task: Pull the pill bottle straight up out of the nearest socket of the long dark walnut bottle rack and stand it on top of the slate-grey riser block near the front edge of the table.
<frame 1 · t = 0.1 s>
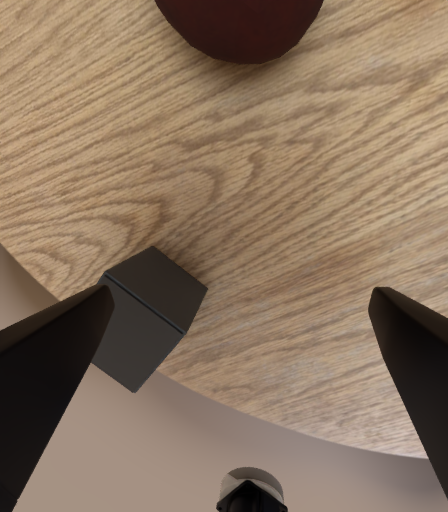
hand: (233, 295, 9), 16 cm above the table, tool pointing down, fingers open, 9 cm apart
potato: (239, 3, 20), on the table
riser: (119, 337, 18), on the table
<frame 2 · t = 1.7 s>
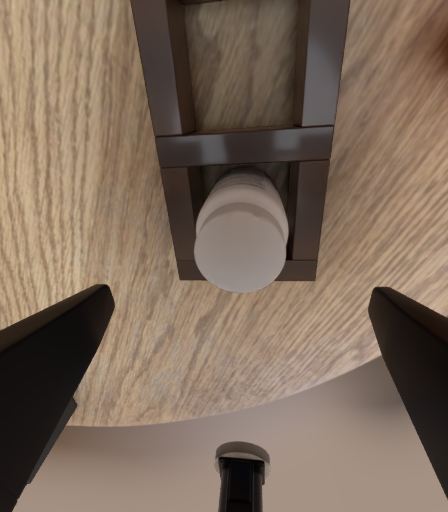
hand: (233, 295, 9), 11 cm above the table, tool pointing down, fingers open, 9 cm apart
pill bottle: (245, 198, 19), on the table
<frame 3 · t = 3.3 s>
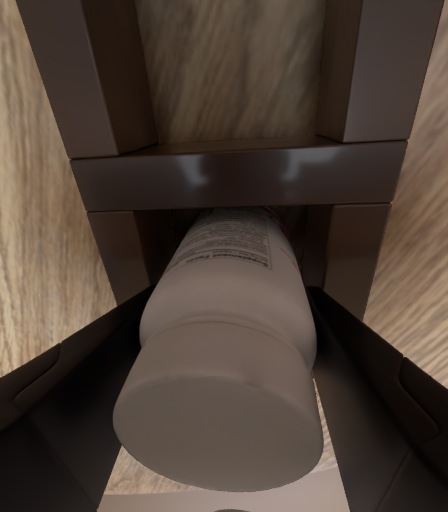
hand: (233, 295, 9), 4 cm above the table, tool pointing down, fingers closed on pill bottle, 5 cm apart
pill bottle: (238, 243, 12), on the table, touching gripper
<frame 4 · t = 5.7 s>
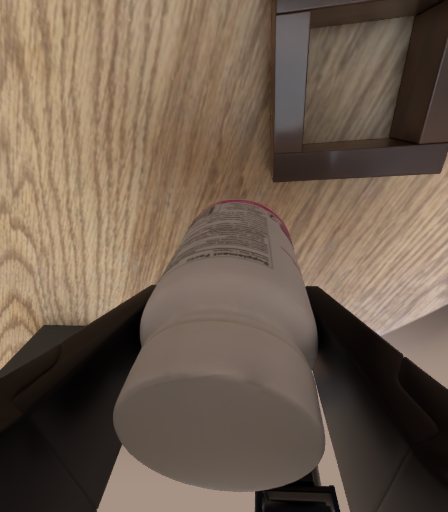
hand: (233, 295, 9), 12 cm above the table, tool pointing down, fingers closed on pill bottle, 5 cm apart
pill bottle: (239, 243, 12), point 8 cm above the table, touching gripper
riser: (28, 422, 23), on the table
when the fingers open (12 cm above the table, at t = 8.1 s): pill bottle stays where it is, resting on riser.
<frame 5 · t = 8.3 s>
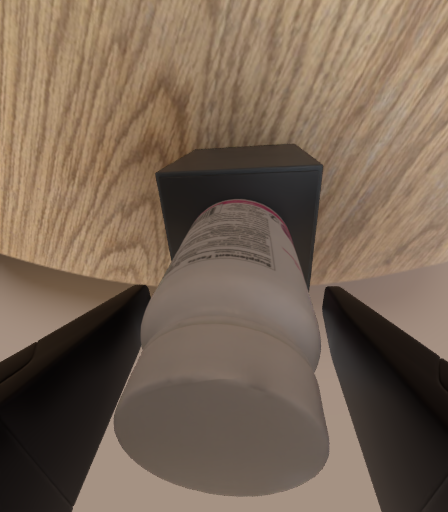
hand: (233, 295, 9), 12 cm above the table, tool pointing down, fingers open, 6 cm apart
pill bottle: (239, 244, 12), point 8 cm above the table, touching riser
riser: (238, 246, 12), on the table
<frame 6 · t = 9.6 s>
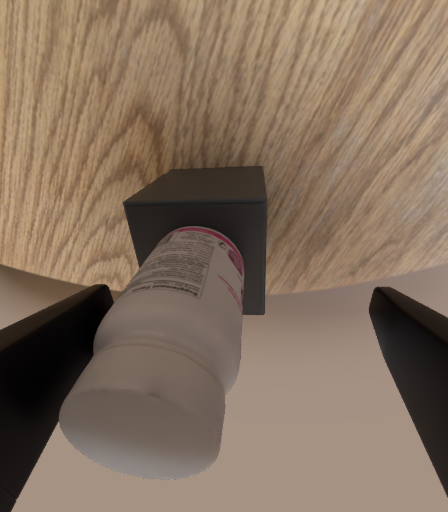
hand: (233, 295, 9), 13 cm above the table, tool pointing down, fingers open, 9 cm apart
pill bottle: (200, 263, 14), point 8 cm above the table, touching gripper, riser
riser: (199, 265, 14), on the table
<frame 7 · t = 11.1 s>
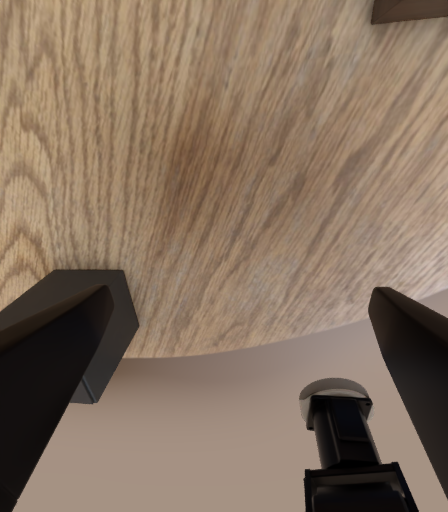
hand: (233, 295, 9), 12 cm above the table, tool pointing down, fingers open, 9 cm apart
riser: (36, 373, 18), on the table
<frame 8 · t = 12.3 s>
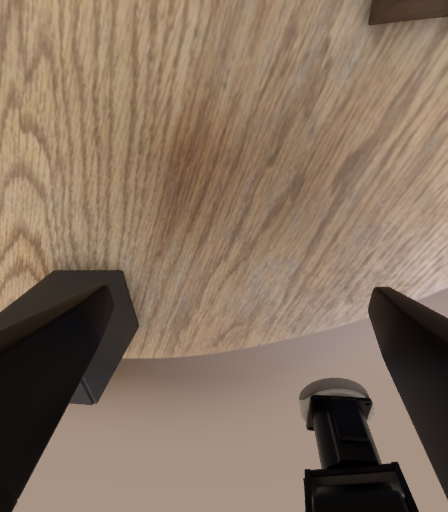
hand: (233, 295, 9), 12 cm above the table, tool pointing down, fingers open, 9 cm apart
riser: (35, 374, 18), on the table
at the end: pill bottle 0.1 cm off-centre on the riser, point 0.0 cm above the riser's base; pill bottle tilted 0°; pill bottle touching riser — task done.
